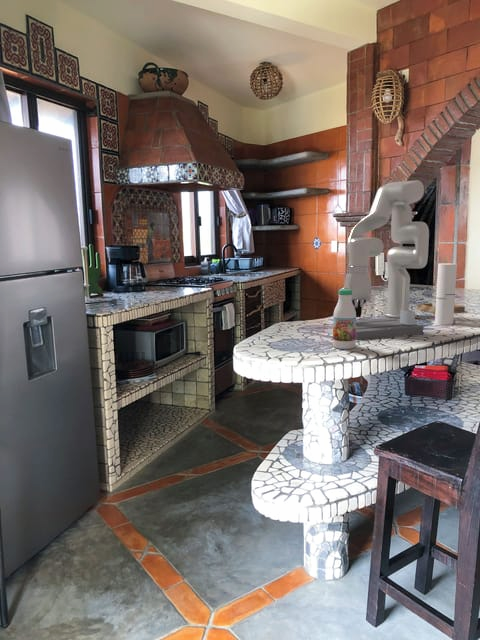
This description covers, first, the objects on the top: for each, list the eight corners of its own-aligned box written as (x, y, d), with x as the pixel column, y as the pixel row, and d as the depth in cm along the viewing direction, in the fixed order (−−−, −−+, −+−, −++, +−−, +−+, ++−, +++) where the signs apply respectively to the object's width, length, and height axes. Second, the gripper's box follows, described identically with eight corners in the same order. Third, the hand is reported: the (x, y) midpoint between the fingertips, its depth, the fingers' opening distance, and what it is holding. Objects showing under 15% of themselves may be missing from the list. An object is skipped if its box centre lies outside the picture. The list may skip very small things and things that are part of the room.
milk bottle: (330, 344, 165) (330, 288, 161) (351, 343, 165) (352, 287, 162) (336, 350, 157) (337, 291, 153) (358, 349, 158) (360, 290, 154)
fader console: (333, 329, 189) (333, 322, 189) (394, 324, 196) (394, 317, 195) (356, 339, 171) (356, 331, 171) (422, 334, 178) (423, 326, 177)
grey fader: (399, 322, 183) (400, 309, 182) (406, 322, 183) (407, 309, 182) (407, 325, 178) (408, 311, 177) (414, 324, 179) (415, 311, 178)
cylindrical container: (455, 325, 193) (459, 264, 188) (436, 324, 195) (440, 264, 190) (450, 321, 200) (454, 263, 195) (433, 321, 201) (436, 263, 197)
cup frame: (417, 308, 233) (417, 304, 232) (443, 307, 237) (443, 302, 236) (437, 313, 219) (437, 308, 218) (464, 311, 222) (464, 306, 222)
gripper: (370, 269, 188) (369, 314, 191) (336, 270, 184) (335, 316, 187) (380, 270, 181) (378, 317, 184) (345, 272, 177) (344, 319, 180)
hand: (357, 316), depth 186 cm, fingers closed
